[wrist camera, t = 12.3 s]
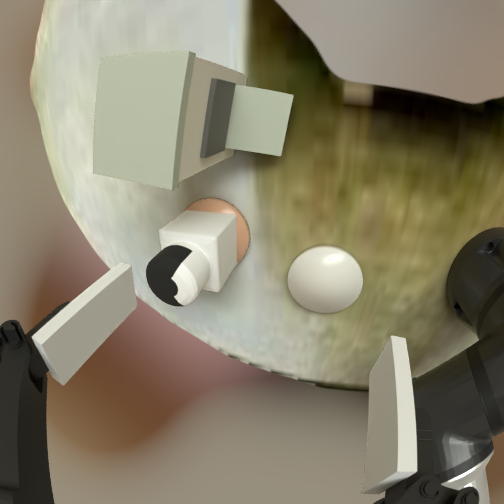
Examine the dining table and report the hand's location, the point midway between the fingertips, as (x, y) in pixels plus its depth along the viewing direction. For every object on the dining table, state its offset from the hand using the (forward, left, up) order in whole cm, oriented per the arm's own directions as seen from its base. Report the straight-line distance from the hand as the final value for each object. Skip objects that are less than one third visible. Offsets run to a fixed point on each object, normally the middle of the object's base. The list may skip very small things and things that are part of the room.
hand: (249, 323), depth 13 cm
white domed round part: (-6, +11, -23) cm, 26 cm away
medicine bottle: (+10, +9, -22) cm, 26 cm away
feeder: (+10, -7, -23) cm, 26 cm away
